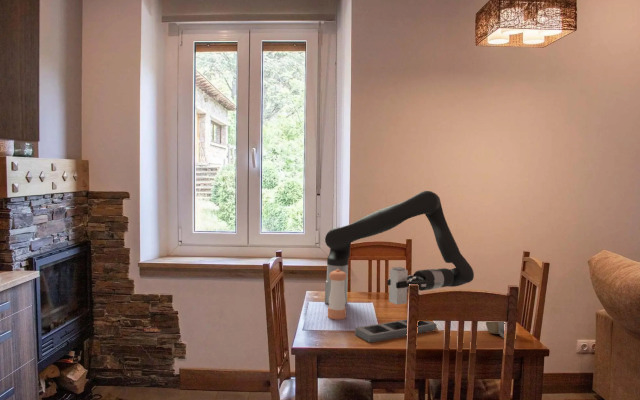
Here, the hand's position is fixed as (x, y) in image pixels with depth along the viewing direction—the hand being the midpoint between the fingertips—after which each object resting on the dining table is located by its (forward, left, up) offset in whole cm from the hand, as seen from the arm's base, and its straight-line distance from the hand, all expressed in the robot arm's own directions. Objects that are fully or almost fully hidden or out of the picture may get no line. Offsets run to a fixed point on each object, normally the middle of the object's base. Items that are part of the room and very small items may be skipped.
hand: (392, 283), depth 171 cm
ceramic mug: (+39, +13, -18) cm, 45 cm away
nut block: (+2, +2, -7) cm, 8 cm away
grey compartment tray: (+2, +2, -18) cm, 18 cm away
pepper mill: (-23, +13, -18) cm, 32 cm away
